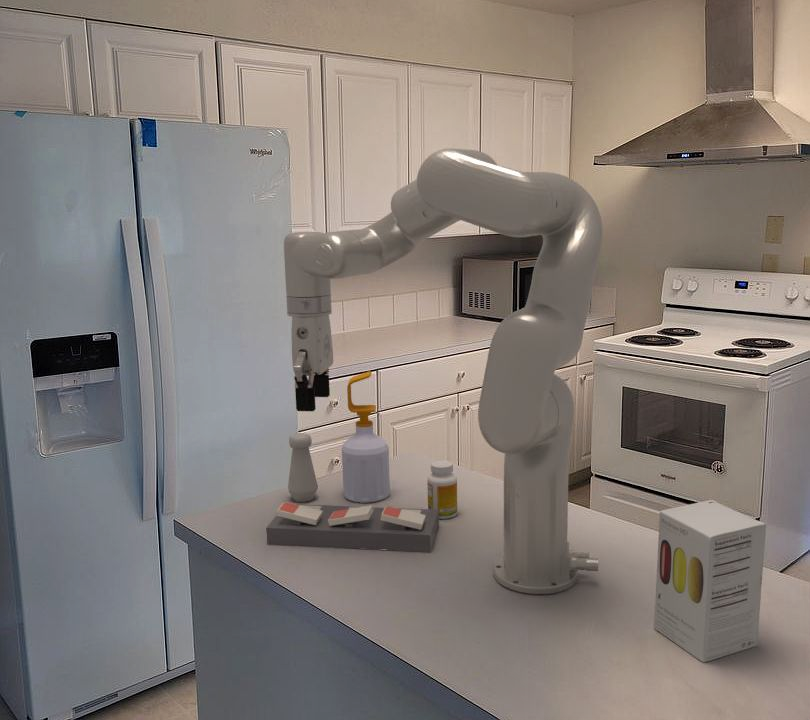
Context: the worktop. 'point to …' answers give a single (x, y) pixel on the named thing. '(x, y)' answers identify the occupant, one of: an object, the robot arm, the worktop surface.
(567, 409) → the robot arm
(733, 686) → the worktop surface
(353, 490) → the soap bottle
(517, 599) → the worktop surface
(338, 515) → the rocker middle
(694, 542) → the supplement box
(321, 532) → the rocker switch panel
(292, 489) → the salt shaker
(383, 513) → the rocker near
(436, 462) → the supplement bottle
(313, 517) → the rocker far
